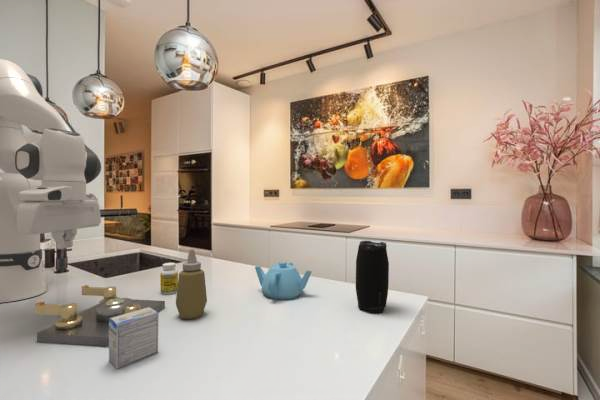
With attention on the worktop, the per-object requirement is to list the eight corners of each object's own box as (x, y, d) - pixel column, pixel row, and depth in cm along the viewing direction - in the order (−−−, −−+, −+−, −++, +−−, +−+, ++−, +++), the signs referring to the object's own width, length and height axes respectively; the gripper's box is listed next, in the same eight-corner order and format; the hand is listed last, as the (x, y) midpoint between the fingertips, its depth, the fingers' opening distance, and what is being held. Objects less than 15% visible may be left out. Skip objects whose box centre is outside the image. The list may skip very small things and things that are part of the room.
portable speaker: (353, 302, 91) (354, 239, 91) (384, 304, 90) (385, 240, 90) (357, 313, 82) (358, 244, 82) (391, 315, 82) (392, 245, 82)
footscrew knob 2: (124, 301, 84) (124, 284, 84) (111, 307, 79) (111, 290, 79) (90, 299, 85) (90, 283, 85) (75, 305, 80) (75, 288, 80)
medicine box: (149, 345, 64) (149, 306, 64) (158, 352, 61) (159, 311, 61) (108, 361, 58) (108, 317, 58) (116, 370, 55) (116, 324, 55)
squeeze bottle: (173, 323, 75) (173, 253, 75) (177, 310, 83) (178, 247, 83) (206, 319, 77) (206, 251, 77) (207, 308, 85) (208, 246, 85)
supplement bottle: (176, 288, 102) (176, 261, 102) (179, 293, 98) (179, 264, 98) (159, 291, 99) (159, 263, 99) (161, 296, 95) (161, 266, 95)
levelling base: (36, 342, 65) (36, 316, 65) (110, 305, 87) (110, 286, 87) (108, 346, 63) (108, 320, 63) (164, 307, 85) (164, 288, 85)
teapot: (253, 290, 102) (253, 259, 102) (291, 284, 109) (291, 255, 109) (269, 305, 89) (270, 269, 89) (312, 297, 96) (313, 264, 96)
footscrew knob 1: (87, 320, 71) (87, 301, 71) (69, 329, 66) (69, 308, 66) (48, 317, 72) (48, 299, 72) (27, 327, 67) (27, 306, 67)
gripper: (86, 193, 85) (86, 241, 85) (10, 193, 64) (10, 255, 65) (107, 193, 84) (107, 241, 84) (36, 193, 64) (36, 256, 64)
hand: (64, 248), depth 74 cm, fingers closed
